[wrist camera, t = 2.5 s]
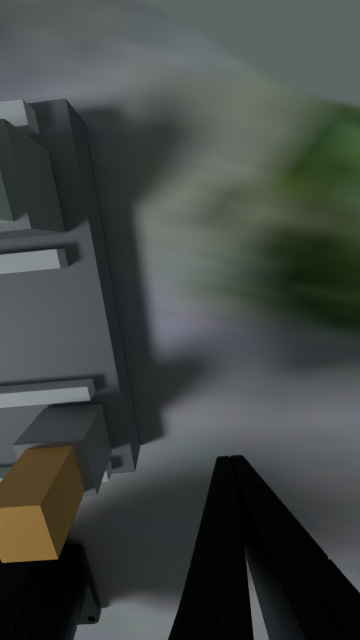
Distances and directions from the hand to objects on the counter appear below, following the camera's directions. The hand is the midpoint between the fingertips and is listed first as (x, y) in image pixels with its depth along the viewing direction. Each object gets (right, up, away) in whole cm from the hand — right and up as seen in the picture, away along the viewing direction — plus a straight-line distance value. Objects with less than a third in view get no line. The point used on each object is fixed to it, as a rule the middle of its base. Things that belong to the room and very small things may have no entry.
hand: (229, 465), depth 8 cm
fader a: (-6, 0, +2) cm, 6 cm away
